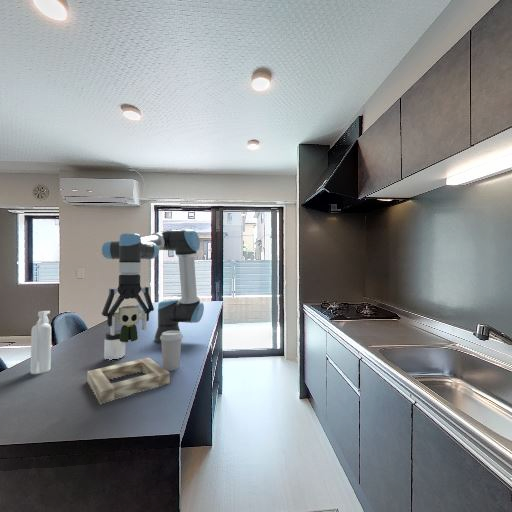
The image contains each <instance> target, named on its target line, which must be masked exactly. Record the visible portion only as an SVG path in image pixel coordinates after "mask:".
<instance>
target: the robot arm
mask: <svg viewBox="0 0 512 512" xmlns="http://www.w3.org/2000/svg"><path fill="white" fill-rule="evenodd" d="M119 235H120V236H119V241H118V240H116V241H113V240H111V241H105V242H104V244H102V246H101V254H102V256H103V257H104V258H105V259H107V260H109V259H110V260H119V261H118V262H119V263H118V274H119V275H118V287H117V288H108V296H107V299H106V301H105V304H104V307H103V309H102V311H101V315H102V316H103V317H106V318H107V321H106V322H107V327H109V329H110V331H109V332H110V334H111V335H112V336H113V335H114V331H115V324H116V323H115V317H113V315H114V313H117V312H116V311H117V310H119V307H120V305H121V304H122V303H123V301H124V300H128V299H135V301H137V303H138V304H139V307H140V308H141V309H142V311H144V319H141V329H142V330H143V331H144V332H145V331H147V322H149V320H150V313H151V312H153V311H154V310H155V308H154V305H153V302H152V299H151V296H150V293H149V287H148V286H144V287H142V286H141V274H140V273H141V272H142V271H141V270H142V269H141V267H142V266H141V265H142V264H141V260H153V259H155V258H156V257H158V255H159V251H173V252H174V253H175V256H177V257H178V266H179V281H180V295H181V296H180V297H181V298H180V299H179V298H178V299H176V298H175V299H168V300H162V301H160V302H158V307H157V329H156V331H155V335H154V342H156V343H159V344H161V340H160V337H161V335H162V333H163V332H166V331H180V332H181V330H180V325H179V323H188V324H189V323H191V324H193V323H199V322H200V321H201V320H202V318H203V316H204V309H205V306H204V303H203V302H201V300H200V297H198V296H197V295H198V294H197V280H196V266H195V265H196V263H195V256H196V254H197V252H198V250H200V247H201V241H200V236H199V235H198V233H197V232H196V231H195V230H194V229H168V230H163V231H159V232H155V233H154V232H153V233H151V234H150V235H148V236H141V235H140V234H139V233H129V232H128V233H121V234H119ZM140 292H142V293H143V296H144V298H145V302H146V303H145V302H144V301H143V299H142V298H141V295H140ZM117 293H118V294H119V295H118V297H117V299H116V300H115V302H114V304H113V306H111V305H112V302H113V300H114V297H115V295H117Z"/></svg>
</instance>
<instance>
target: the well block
mask: <svg viewBox="0 0 512 512" xmlns="http://www.w3.org/2000/svg"><path fill="white" fill-rule="evenodd" d="M141 371H143V372H144V373H145V374H146V375H145V374H144V373H143V372H141ZM137 372H139V373H143V375H139V376H136V377H132V378H128V379H124V380H122V381H121V380H120V381H117V382H114V383H111V382H110V380H109V379H112V380H114V379H113V378H116V379H118V378H117V377H120V378H122V377H121V376H124V377H126V376H125V375H128V376H130V375H129V374H132V375H134V374H133V373H136V374H138V373H137ZM86 373H87V374H86V375H87V377H86V379H87V380H86V382H87V384H88V386H89V385H90V386H89V388H90V389H91V391H92V390H93V391H92V392H94V393H93V394H94V396H95V395H96V396H95V397H97V398H96V399H98V400H99V401H98V400H97V401H98V403H99V402H100V403H103V402H107V401H110V400H113V399H116V398H119V397H123V396H126V395H130V394H133V393H136V392H139V391H143V390H146V389H150V388H153V389H155V388H154V387H156V388H159V387H158V386H160V387H162V385H163V386H166V385H169V383H170V382H171V381H170V376H171V375H170V373H171V372H170V371H167V370H165V369H164V368H163V366H161V365H160V364H159V363H157V362H156V361H154V360H153V359H151V358H150V357H145V358H139V359H136V360H135V359H134V360H131V361H126V362H122V363H117V364H113V365H108V366H105V367H100V368H96V369H92V370H87V372H86ZM165 384H166V385H165ZM150 390H151V389H150ZM143 392H144V391H143ZM133 395H134V394H133ZM130 396H131V395H130ZM110 402H111V401H110ZM100 403H99V404H100ZM107 403H108V402H107Z"/></svg>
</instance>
